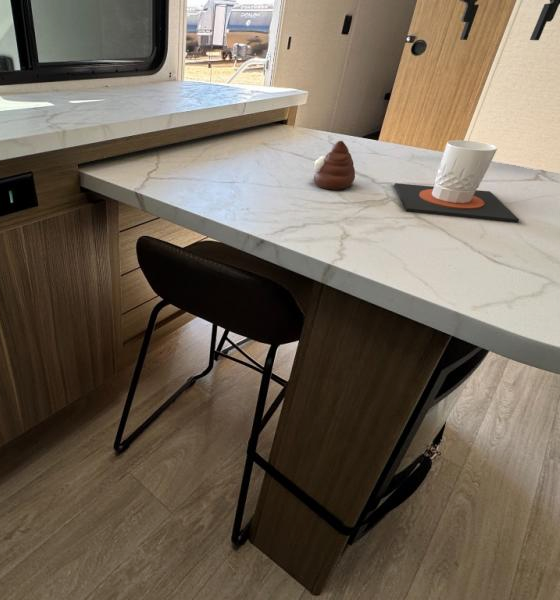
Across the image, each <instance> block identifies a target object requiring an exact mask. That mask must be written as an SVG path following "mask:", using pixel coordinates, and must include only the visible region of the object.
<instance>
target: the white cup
mask: <svg viewBox="0 0 560 600" xmlns="http://www.w3.org/2000/svg"><path fill="white" fill-rule="evenodd" d="M497 150H498V146H496V145H494V144H491V143H487V142H482V141H476V140H475V141H474V140H466V139H465V140H463V139H462V140H461V139H459V140H458V139H457V140H455V139H454V140H448V141H447V142H446V145H445V147H444V151H443V154H442V157H441V161H440V163H439V166H438V170H437V173H436V177H435V183H434V185H433V186H434V188H433V191H432V195H433V197H435V198H437V199H439V200H443V201H446V202H452V203H468V202H470V201H471V200H472V198H473V196H474V194H475V192H476V190H478V189H479V187H480V185H481V183H482V181H483V179H484V177H485V175H486V174H487V171H488V169H489V168H490V165H491V163H492V161H493V159H494V157H495V154H496V153H497Z"/></svg>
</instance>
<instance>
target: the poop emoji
mask: <svg viewBox="0 0 560 600" xmlns="http://www.w3.org/2000/svg"><path fill="white" fill-rule="evenodd" d="M313 169H314V172H315V173H314V174H313V182H314V184H315V186H317V187H319V188H321V189H325V190H330V191H342V190H345V189H347V188H349V187H350V186H351V185H352V184H353V182H354V181H355V179H356V170H355V166H354V160H353V158H352V154H351V153H350V152H349V148H348V146H347V144H345V142H344V141H343V140H338V141H336V142H335V144H333V146H332V148H331V150H330V151H329V152H328V153H327V154H326V155H321V156H319V158H318V159H316V160H314V162H313Z"/></svg>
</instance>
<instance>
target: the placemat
mask: <svg viewBox="0 0 560 600" xmlns="http://www.w3.org/2000/svg"><path fill="white" fill-rule="evenodd" d="M393 186H394V188H395V190H396V193H397V195H398V197H399V199H400V201H401V203H402V205H403V208H404V211H405V212H412V213H420V214H421V213H422V214H432V215H439V216H440V215H441V216H449V217H461V218H470V219H478V220H481V219H482V220H490V221H498V222H499V221H500V222H501V221H502V222H507V223H508V222H509V223H519V222H520V219H519V218H518V217H517V216H516V215H515V213H514V212H512V211H511V210H510V208H508V207H507V206H506V205H505V204H504V203H503V202H501V200H500V199H499V198H498V197H497V196H495V195H494V194H493V193H492V191H489V190H478V189H477V190H476V192H475V194H474V196H473V198H472V200H471V201H470V202H468V203H452V202H446V201H443V200H439V199H437V198H435V197H433V195H432V191H433V188H434V185H432V186H431V185H423V184H422V185H421V184H411V183H398V182H395V183H394V184H393Z"/></svg>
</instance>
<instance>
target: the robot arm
mask: <svg viewBox="0 0 560 600" xmlns="http://www.w3.org/2000/svg"><path fill="white" fill-rule="evenodd" d="M458 1H459V2H462V3H464V4H465V8H464V11H463V15H462V17H461V23H465V24H464V26H463V29H462V32H461V35H460V38H459V40H460V41H467V40H468V38H469V35H470V32H471V29H472V26H473V23H474V21H475V18H476V14H477V12H478V9H479V6H480V4H479V3H478V4H476V3H477V2H478V1H479V0H458ZM559 6H560V0H549V3H544V5H543V7H542V9H541V12H540V14H539V17H538V19H537V21H536V24H535V26H534V28H533V31H532V33H531V36H530V38H529V41H539V40H540V38H541V36H542V34H543V31H544V29H545V28H546V27H545V26H546V25H547V22H550V23H551V22H552V21H553V19H554V18H555V15H556V13H557V12H558V11H557V10H558V8H559Z"/></svg>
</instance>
